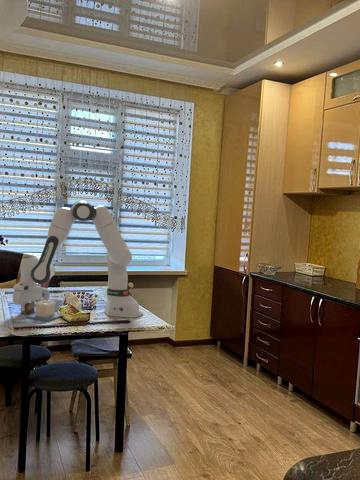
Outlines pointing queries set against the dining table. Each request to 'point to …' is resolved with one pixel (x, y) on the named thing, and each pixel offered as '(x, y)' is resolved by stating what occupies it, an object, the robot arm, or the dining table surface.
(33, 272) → the robot arm
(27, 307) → the walnut block
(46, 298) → the donut
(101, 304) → the dining table surface
